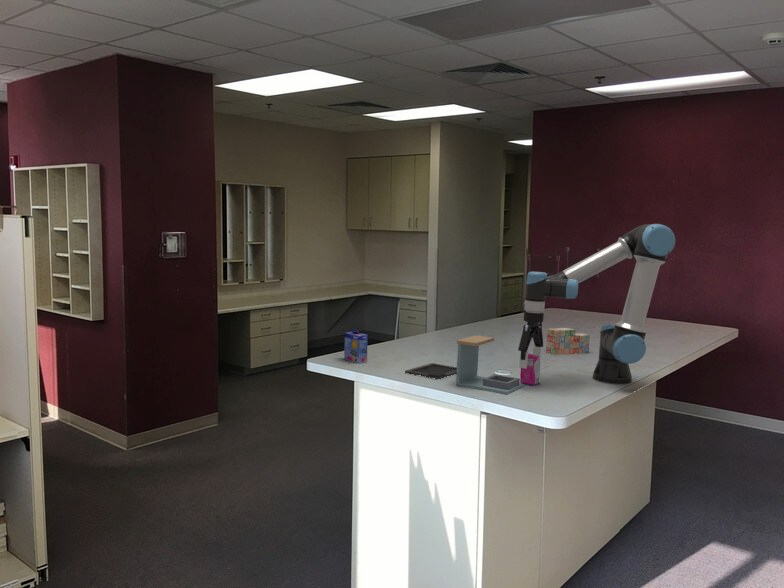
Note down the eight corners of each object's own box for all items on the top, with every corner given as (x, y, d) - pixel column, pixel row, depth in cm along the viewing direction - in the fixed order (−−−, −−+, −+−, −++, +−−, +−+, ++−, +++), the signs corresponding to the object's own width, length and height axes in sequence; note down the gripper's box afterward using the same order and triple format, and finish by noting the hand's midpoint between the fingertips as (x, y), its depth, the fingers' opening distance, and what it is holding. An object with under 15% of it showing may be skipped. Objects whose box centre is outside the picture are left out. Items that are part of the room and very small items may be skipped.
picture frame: (438, 380, 260) (464, 372, 277) (438, 376, 259) (464, 367, 276) (404, 374, 269) (431, 366, 286) (405, 369, 268) (432, 362, 286)
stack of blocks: (580, 351, 335) (582, 327, 334) (588, 353, 330) (590, 329, 328) (545, 352, 327) (547, 328, 326) (553, 355, 321) (555, 330, 320)
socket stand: (523, 386, 254) (526, 342, 252) (507, 394, 241) (510, 348, 239) (473, 377, 265) (475, 335, 264) (454, 384, 252) (457, 340, 250)
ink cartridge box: (343, 359, 290) (344, 327, 288) (352, 358, 294) (353, 326, 292) (358, 363, 283) (359, 330, 281) (367, 362, 287) (368, 329, 285)
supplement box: (526, 381, 263) (528, 352, 262) (539, 383, 259) (541, 355, 258) (519, 383, 259) (520, 354, 257) (532, 386, 255) (534, 357, 254)
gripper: (536, 308, 268) (532, 359, 271) (512, 313, 248) (508, 368, 250) (554, 310, 264) (549, 362, 267) (531, 315, 243) (526, 371, 246)
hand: (529, 365), depth 258 cm, fingers open, 13 cm apart
